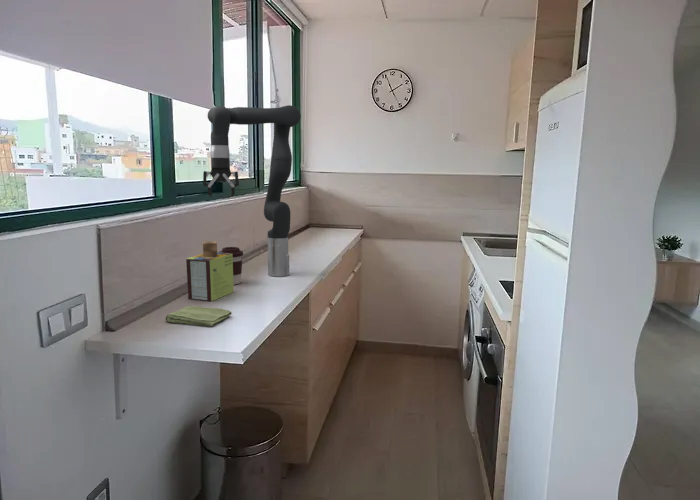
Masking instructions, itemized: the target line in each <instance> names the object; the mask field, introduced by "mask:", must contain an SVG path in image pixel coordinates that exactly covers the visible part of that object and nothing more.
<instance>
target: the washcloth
mask: <svg viewBox="0 0 700 500" xmlns="http://www.w3.org/2000/svg"><path fill="white" fill-rule="evenodd" d="M232 315H233V314H232V311H230V310H229V309H223V308H218V307H203V306H195V305H189V306H185V307H183V308H180V309H179V310H176V311H173V312H171V313H167V314H166V316H165V318H164V319H165V321H166V322H167V321H168V322H167V323H169V322H173V323H172V324H177V323H185V324H184V325H188V324H194V325H193V326H201V325H204V327H209V326H212V327H214V325H216V324H218V323H220V322H223V321H224V320H225V319H227V318H228V317H230V316H232Z"/></svg>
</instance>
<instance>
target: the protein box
mask: <svg viewBox="0 0 700 500" xmlns="http://www.w3.org/2000/svg"><path fill="white" fill-rule="evenodd" d="M219 252H220V251H217V256H213V257H203V253H201V254H197V255H195V256H190V257H187V258H185V260H186V261H185V262H186V263H185V264H186V280H187V281H186V282H187V299H188V300H193V299H194V301H203V302H213V301H215V300H218V299H221V298H222V297H225V296H227V295H230V294H232V293H234V292H235V291H234V288H235V287H234V285H233V255H232V253H219Z"/></svg>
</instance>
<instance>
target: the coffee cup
mask: <svg viewBox="0 0 700 500" xmlns="http://www.w3.org/2000/svg"><path fill="white" fill-rule="evenodd" d="M218 252H219V253H232V255H233V286H234V285H239V284H241V282H242V270H243V260H242V256H244V251H243V250H241V249H240V248H239V247H238V246H225V247H223V248H222V249H221V250H220V251H218Z"/></svg>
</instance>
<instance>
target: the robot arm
mask: <svg viewBox="0 0 700 500" xmlns="http://www.w3.org/2000/svg"><path fill="white" fill-rule="evenodd" d="M206 117H207V119H208V121H209V122H210V123H212V124H213V128H212V131H211V133H210V171H206V170H205V171H203V175H202V178H203V179H202V185H203V187H207V194H208V196H209V197H210V198H212V196H213V195H212V193H213V192H212V186H213V185H214V183H215V182H217V183H220V182H221V183H226V182H227V183H228V184H229V185H230V186H231V187H230V196H231V197H232V198H233V197H234V196H235V194H236V191H235V188H236V187H238V186H239V185H240V181H239V173H238V171H231V161H230V160H231V159H230V156H231V155H230V146H229V144H230V143H229V142H230V141H229V132H230V126H231V125H238V126H242V125H245V126H247V125H248V126H249V125H263V124H264V125H265V124H273V141H272V147H271V148H272V150H271V157H270V166H269V176H268V185H267V191H266V196H265V201H264V205H263V206H264V207H263V217H264V218H265V219H266V220H267V221H268V222H272V228H271V229H269V230H267V270H268V271H267V273H268V276H269V277H275V278H276V277H277V278H278V277H286V276H290V254H289V233H290V230H291V209H290V206H289V204H288V203H287V202H285V201H281V197H282V193H283V192H282V191H283V188H284V187H285V185H286V183H287V182H288V180H289V178H290V176H291V171H292V163H293V155H292V154H293V153H292V152H291V151H292V149H291V147H290V131H291V128H293V127H295V126H297V125H298V124H299V123H300V120H301V118H302V117H301V112H300V110H299V109H298V108H297V107H296V106H294V105H291V104H290V105H289V104H288V105H283V106H280V107H247V106H244V107H243V106H237V107H225V106H224V105H218V106H214V107H211V108H210V109H209V110H208V112H207V116H206ZM209 175H210V176H211V177H212V179H211V180H210V182H209V183H207V178H208V177H209ZM231 176H232V177H234V181H235V183H233V181H232V180H231V179H230V177H231Z"/></svg>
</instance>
